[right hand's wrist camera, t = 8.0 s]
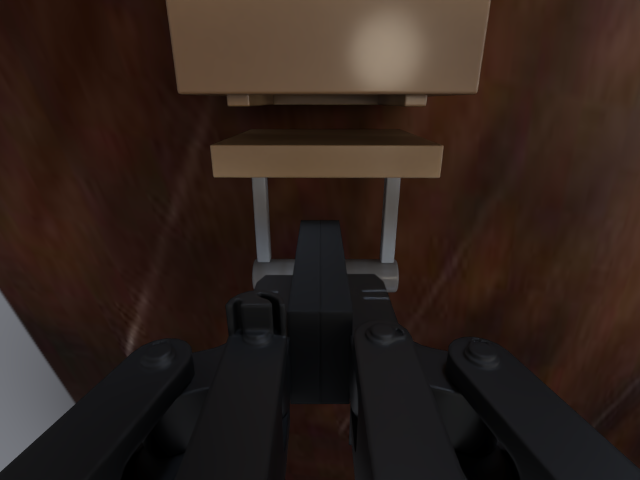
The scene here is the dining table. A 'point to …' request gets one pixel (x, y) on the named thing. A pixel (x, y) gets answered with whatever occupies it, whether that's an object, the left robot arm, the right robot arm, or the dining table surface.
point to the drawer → (327, 169)
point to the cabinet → (327, 46)
